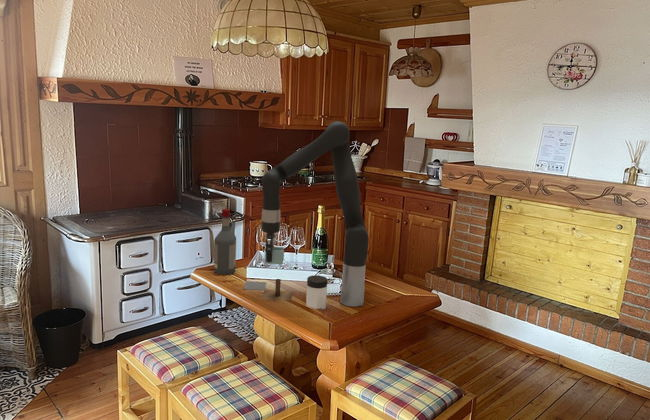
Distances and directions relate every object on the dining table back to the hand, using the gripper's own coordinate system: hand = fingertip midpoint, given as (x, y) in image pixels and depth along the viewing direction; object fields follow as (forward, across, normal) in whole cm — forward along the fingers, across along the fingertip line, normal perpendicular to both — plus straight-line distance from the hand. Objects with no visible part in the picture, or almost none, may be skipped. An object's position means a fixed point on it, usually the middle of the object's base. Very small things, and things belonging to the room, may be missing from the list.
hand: (269, 259), depth 201 cm
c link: (+1, 0, -2) cm, 2 cm away
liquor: (+17, +28, +23) cm, 40 cm away
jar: (+17, -7, -20) cm, 27 cm away
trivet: (+17, +10, +7) cm, 20 cm away
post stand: (+17, 0, -4) cm, 17 cm away
